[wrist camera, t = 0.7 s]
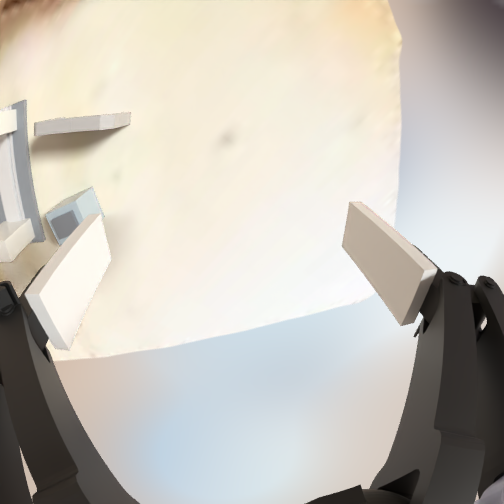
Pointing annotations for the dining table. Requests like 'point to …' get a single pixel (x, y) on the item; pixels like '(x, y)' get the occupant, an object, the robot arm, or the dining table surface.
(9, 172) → the rail board
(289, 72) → the dining table surface
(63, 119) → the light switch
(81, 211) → the relay block
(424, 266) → the robot arm
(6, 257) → the mounted modules
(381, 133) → the dining table surface
